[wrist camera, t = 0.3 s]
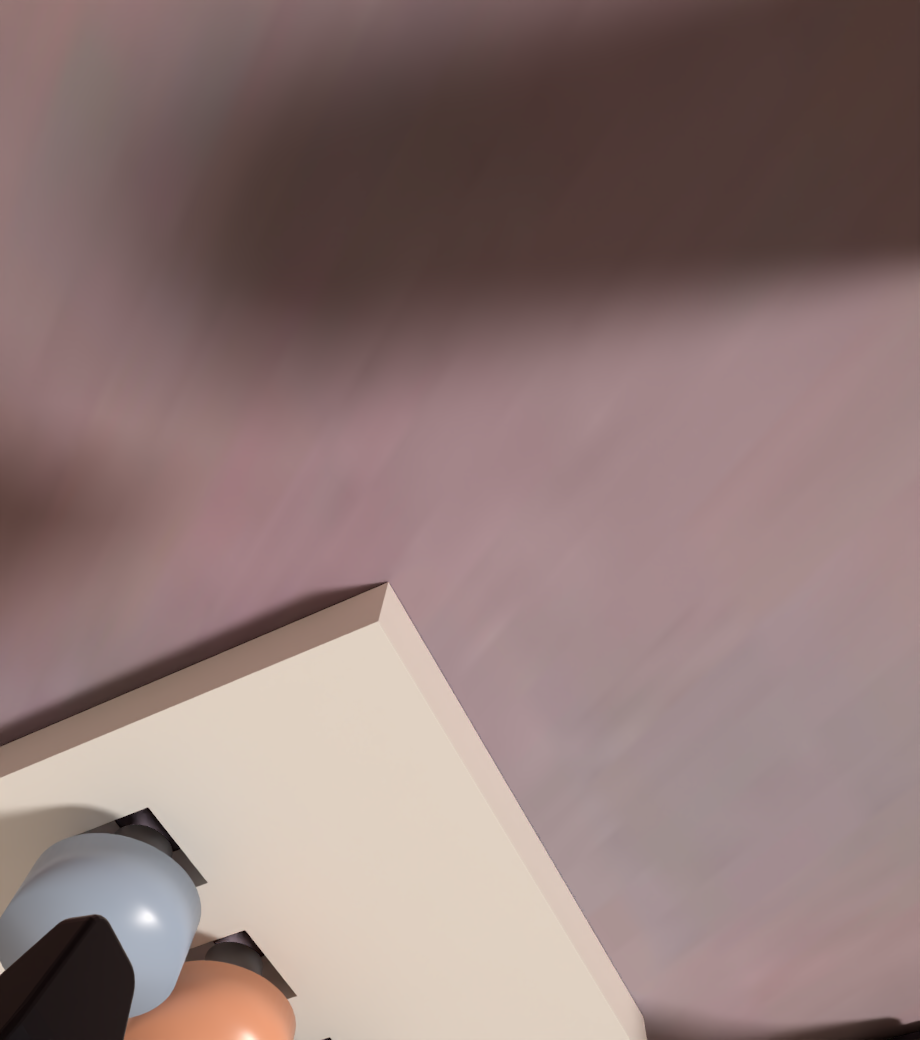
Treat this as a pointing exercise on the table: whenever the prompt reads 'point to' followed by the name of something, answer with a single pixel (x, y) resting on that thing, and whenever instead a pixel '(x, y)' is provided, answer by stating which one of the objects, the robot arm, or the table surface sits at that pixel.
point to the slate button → (112, 903)
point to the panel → (334, 834)
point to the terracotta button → (219, 1002)
